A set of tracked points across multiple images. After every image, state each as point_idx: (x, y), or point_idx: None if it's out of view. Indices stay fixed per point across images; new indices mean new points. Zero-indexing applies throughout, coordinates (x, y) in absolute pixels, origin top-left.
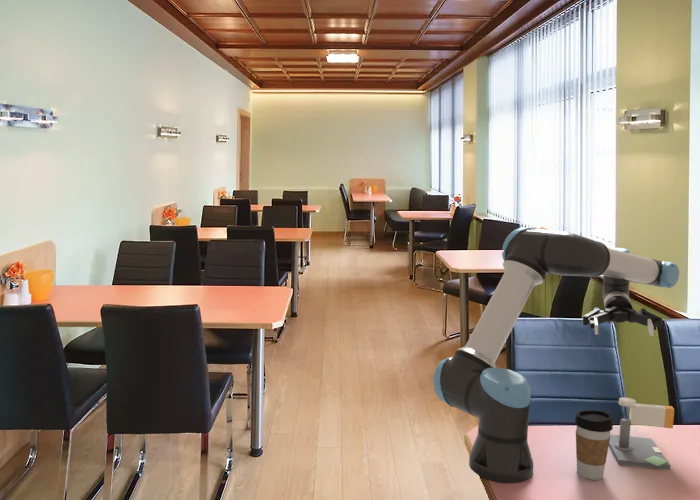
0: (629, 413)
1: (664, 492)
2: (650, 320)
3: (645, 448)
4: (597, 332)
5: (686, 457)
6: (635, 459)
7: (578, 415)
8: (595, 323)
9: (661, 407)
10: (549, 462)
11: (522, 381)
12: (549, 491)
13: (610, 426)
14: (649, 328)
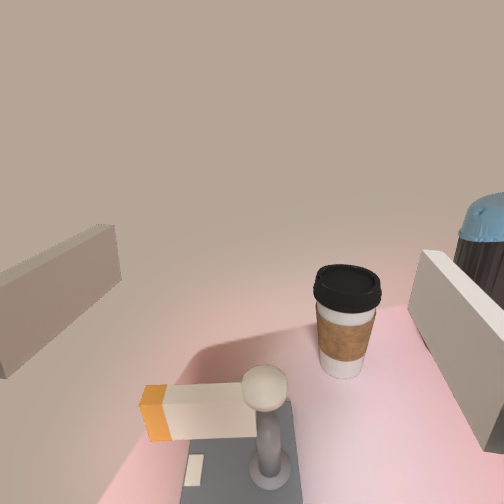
0: (255, 421)
1: (238, 343)
2: (7, 272)
3: (217, 477)
4: (413, 295)
5: (126, 485)
6: (257, 411)
7: (375, 274)
8: (452, 266)
9: (175, 390)
10: (413, 383)
11: (487, 202)
12: (387, 313)
13: (318, 278)
14: (90, 270)
